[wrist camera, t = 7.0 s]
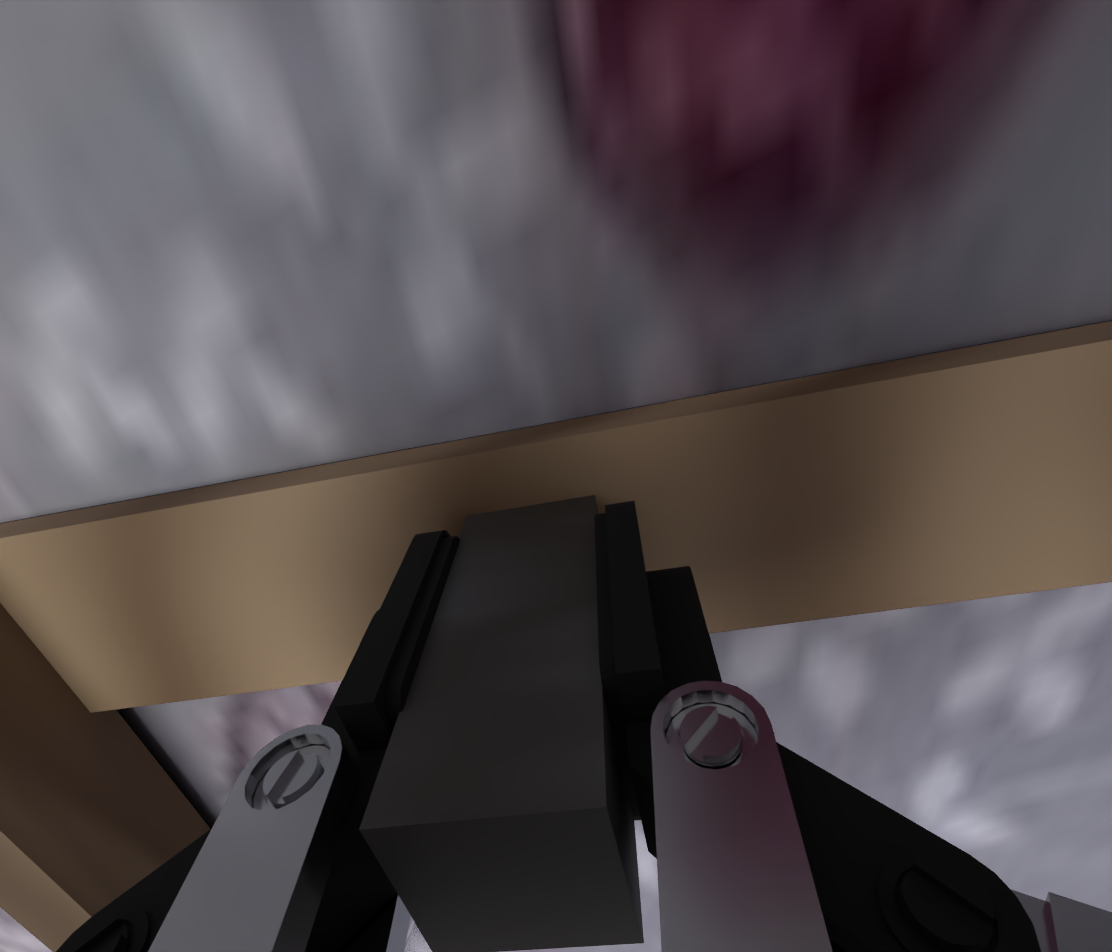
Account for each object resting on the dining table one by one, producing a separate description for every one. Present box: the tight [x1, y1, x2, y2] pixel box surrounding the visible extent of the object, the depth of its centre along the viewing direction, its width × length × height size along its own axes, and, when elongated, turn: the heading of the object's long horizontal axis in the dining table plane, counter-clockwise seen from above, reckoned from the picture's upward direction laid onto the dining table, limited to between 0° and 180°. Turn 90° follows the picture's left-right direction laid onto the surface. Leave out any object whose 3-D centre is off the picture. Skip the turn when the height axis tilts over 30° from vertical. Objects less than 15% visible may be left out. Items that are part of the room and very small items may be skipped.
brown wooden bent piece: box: [0, 321, 1112, 952], centre depth 12 cm, size 26×18×7 cm
